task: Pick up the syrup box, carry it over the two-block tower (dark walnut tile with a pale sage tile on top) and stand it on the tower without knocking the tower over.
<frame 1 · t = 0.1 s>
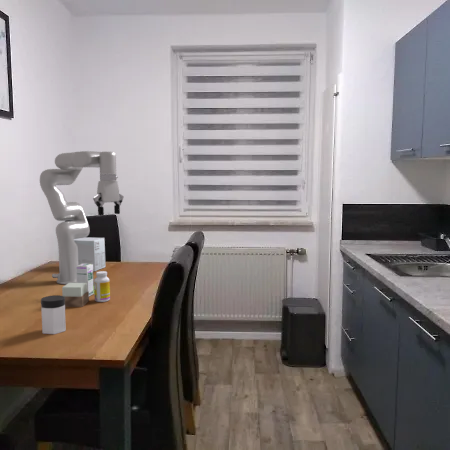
hand: (109, 214, 217), 37 cm above the table, tool pointing down, fingers open, 9 cm apart
supplement box: (87, 269, 273), on the table
bottom block: (75, 304, 200), on the table, touching top block
jar: (54, 330, 166), on the table
syrup box: (85, 295, 214), on the table
top block: (75, 294, 200), point 4 cm above the table, touching bottom block
supplement bottle: (102, 300, 206), on the table
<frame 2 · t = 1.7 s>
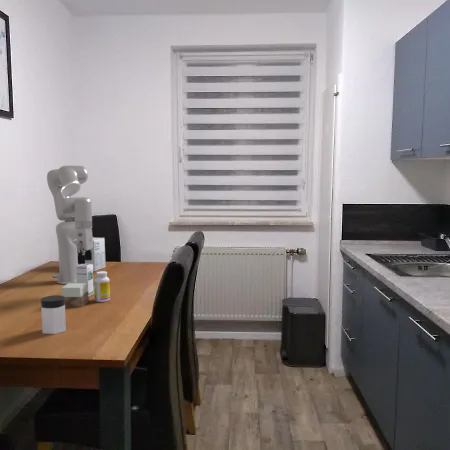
hand: (85, 262, 212), 16 cm above the table, tool pointing down, fingers open, 9 cm apart
nothing on the table moved.
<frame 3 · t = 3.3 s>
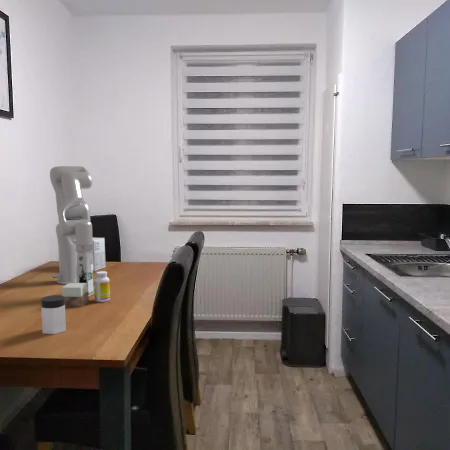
hand: (85, 285, 214), 4 cm above the table, tool pointing down, fingers closed on syrup box, 6 cm apart
bottom block: (75, 304, 200), on the table
syrup box: (85, 295, 214), on the table, touching gripper
top block: (74, 294, 200), point 4 cm above the table
everything else where it was.
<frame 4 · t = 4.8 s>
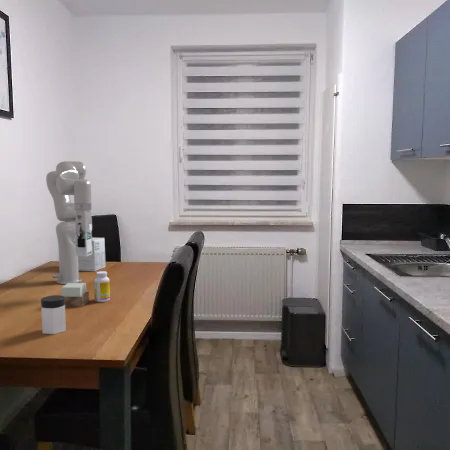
hand: (83, 245, 212), 23 cm above the table, tool pointing down, fingers closed on syrup box, 6 cm apart
bottom block: (75, 304, 200), on the table, touching top block
syrup box: (84, 255, 213), point 19 cm above the table, touching gripper
top block: (74, 294, 200), point 4 cm above the table, touching bottom block
everything else where it was.
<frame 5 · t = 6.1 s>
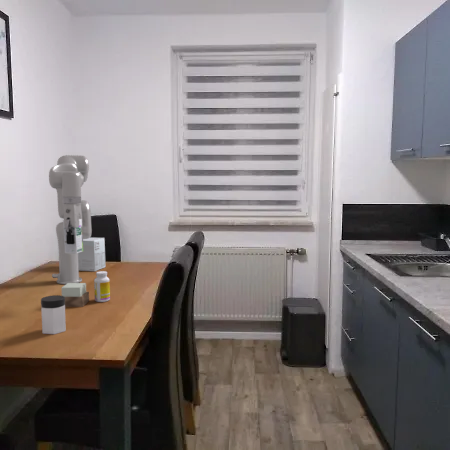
hand: (73, 242, 197), 27 cm above the table, tool pointing down, fingers closed on syrup box, 6 cm apart
syrup box: (73, 253, 198), point 22 cm above the table, touching gripper
everything else where it was.
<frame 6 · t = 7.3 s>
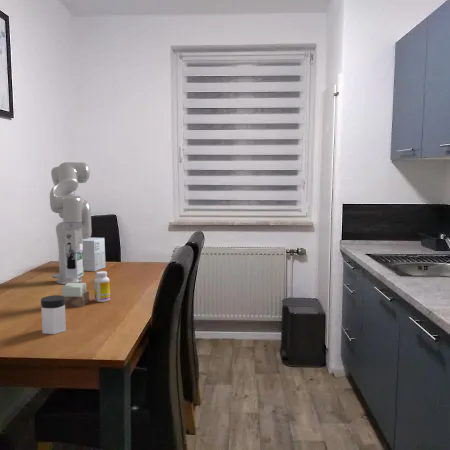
hand: (74, 266, 198), 16 cm above the table, tool pointing down, fingers closed on syrup box, 6 cm apart
syrup box: (74, 277, 199), point 12 cm above the table, touching gripper
everything else where it was.
when the fingers open (14 cm above the table, at t = 8.2 s): syrup box drops 1 cm, point 8 cm above the table.
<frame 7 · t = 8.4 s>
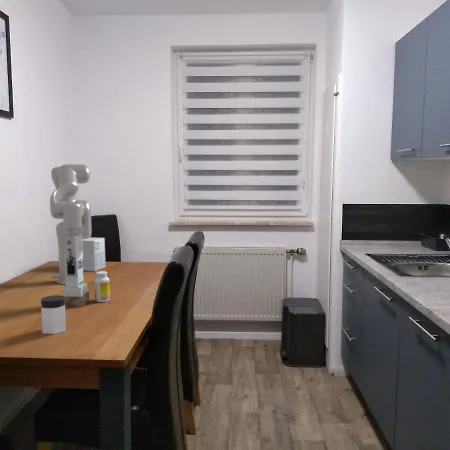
hand: (74, 272, 199), 14 cm above the table, tool pointing down, fingers open, 7 cm apart
syrup box: (75, 285, 199), point 8 cm above the table
everything else where it was.
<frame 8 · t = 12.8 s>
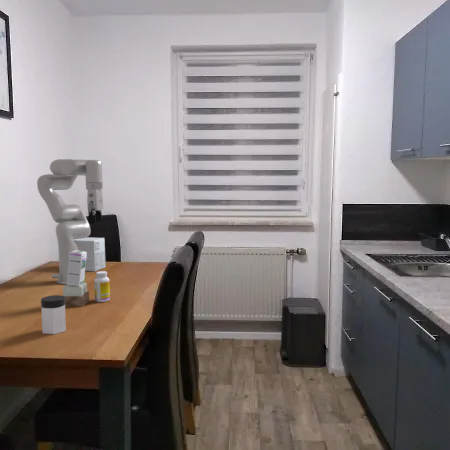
hand: (95, 222, 218), 33 cm above the table, tool pointing down, fingers open, 9 cm apart
at the end: syrup box 0.6 cm off-centre on the top block, point 4.0 cm above the top block's base; syrup box tilted 3°; top block moved 0.9 cm from its start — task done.
